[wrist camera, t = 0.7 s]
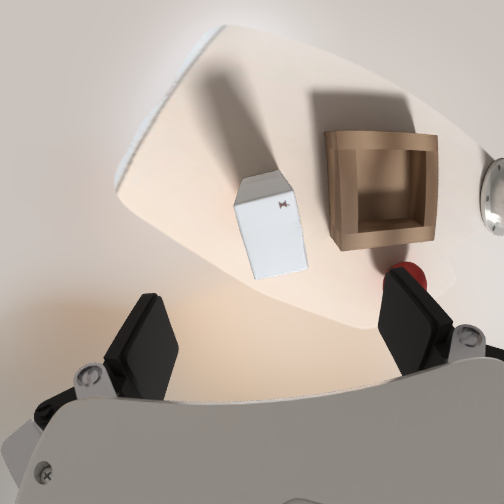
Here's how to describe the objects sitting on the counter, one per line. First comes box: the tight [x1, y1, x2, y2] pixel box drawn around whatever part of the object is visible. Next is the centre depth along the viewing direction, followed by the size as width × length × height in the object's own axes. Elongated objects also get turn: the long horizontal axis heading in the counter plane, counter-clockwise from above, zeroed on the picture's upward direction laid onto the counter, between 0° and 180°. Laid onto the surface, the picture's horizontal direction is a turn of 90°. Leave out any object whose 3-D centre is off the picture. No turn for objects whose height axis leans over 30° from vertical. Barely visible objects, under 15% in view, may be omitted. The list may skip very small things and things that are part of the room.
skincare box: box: [234, 170, 308, 280], centre depth 24 cm, size 6×4×12 cm
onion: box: [383, 262, 427, 291], centre depth 29 cm, size 6×6×8 cm
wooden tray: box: [324, 131, 438, 251], centre depth 26 cm, size 12×12×4 cm
